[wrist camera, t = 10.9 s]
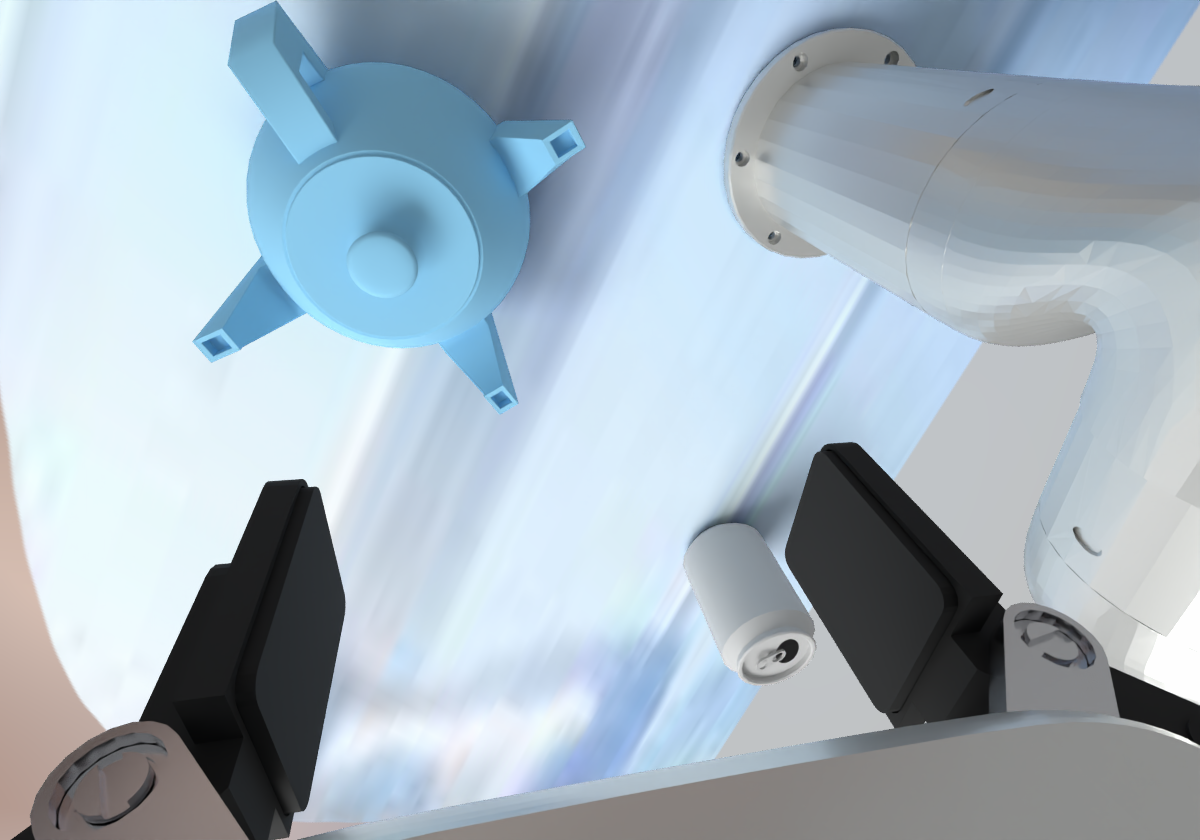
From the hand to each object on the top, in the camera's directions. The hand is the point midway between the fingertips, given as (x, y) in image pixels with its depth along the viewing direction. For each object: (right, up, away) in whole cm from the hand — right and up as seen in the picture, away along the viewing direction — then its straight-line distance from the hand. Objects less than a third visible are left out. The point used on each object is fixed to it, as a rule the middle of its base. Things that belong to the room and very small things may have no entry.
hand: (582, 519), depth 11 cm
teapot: (-11, +14, +23) cm, 29 cm away
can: (+11, -10, +43) cm, 45 cm away
